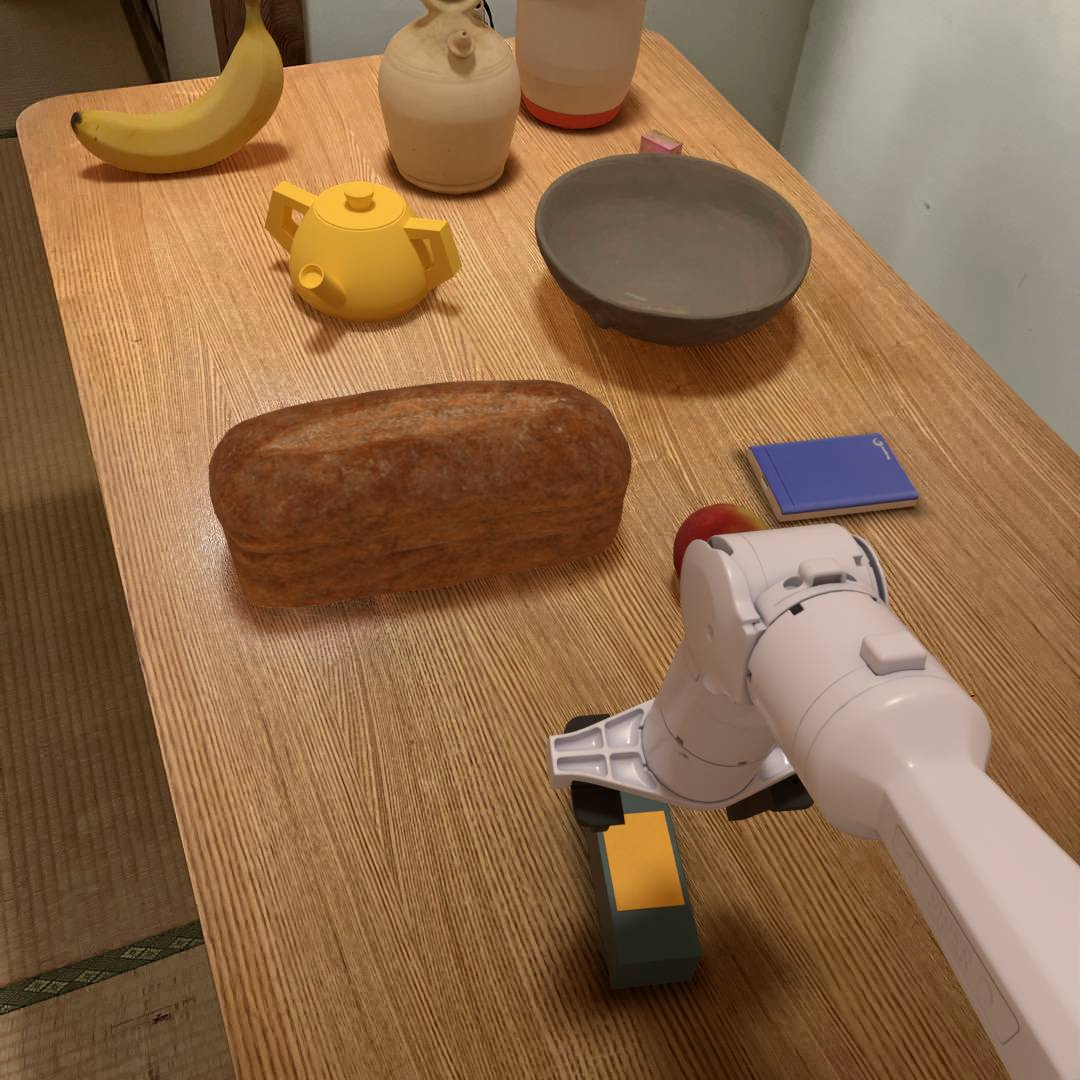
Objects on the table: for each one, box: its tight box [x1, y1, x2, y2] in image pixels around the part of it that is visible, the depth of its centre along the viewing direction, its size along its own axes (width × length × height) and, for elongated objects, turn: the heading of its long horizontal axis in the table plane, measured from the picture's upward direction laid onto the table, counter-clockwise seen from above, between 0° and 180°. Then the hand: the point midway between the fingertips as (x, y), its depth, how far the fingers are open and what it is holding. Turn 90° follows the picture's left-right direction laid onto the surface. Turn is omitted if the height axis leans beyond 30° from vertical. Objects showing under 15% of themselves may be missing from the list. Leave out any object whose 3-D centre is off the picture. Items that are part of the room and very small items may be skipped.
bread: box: [208, 379, 633, 609], centre depth 81 cm, size 12×31×14 cm, turn 106°
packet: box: [583, 791, 703, 990], centre depth 66 cm, size 12×5×4 cm, turn 7°
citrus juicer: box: [514, 0, 647, 130], centre depth 129 cm, size 16×17×20 cm
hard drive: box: [746, 432, 920, 523], centre depth 93 cm, size 2×8×12 cm
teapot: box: [264, 180, 463, 324], centre depth 102 cm, size 20×18×11 cm
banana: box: [69, 0, 285, 174], centre depth 113 cm, size 23×6×20 cm, turn 109°
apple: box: [672, 502, 769, 581], centre depth 81 cm, size 8×8×8 cm
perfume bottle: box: [638, 129, 684, 155], centre depth 123 cm, size 12×12×4 cm
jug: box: [377, 0, 522, 196], centre depth 115 cm, size 15×16×25 cm
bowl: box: [534, 152, 813, 348], centre depth 105 cm, size 26×26×10 cm
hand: (663, 808), depth 59 cm, fingers open, 7 cm apart
